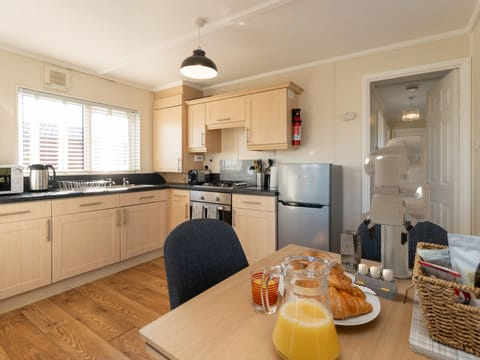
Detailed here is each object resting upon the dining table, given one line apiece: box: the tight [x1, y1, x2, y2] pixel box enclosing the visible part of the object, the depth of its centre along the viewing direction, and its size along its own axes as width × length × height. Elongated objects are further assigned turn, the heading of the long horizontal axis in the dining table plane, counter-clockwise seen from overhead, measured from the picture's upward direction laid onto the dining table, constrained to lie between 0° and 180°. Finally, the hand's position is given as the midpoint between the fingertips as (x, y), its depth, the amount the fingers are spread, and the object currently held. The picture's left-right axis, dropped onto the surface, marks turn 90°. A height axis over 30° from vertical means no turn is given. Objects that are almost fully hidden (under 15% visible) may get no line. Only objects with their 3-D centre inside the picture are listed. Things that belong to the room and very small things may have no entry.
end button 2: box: [358, 263, 369, 276], centre depth 94 cm, size 3×3×4 cm
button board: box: [353, 270, 399, 301], centre depth 91 cm, size 7×12×5 cm, turn 46°
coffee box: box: [340, 229, 362, 274], centre depth 112 cm, size 9×6×16 cm
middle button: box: [369, 266, 381, 280], centre depth 91 cm, size 3×3×4 cm
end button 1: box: [382, 269, 394, 283], centre depth 88 cm, size 3×3×4 cm
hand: (387, 241), depth 88 cm, fingers open, 9 cm apart
